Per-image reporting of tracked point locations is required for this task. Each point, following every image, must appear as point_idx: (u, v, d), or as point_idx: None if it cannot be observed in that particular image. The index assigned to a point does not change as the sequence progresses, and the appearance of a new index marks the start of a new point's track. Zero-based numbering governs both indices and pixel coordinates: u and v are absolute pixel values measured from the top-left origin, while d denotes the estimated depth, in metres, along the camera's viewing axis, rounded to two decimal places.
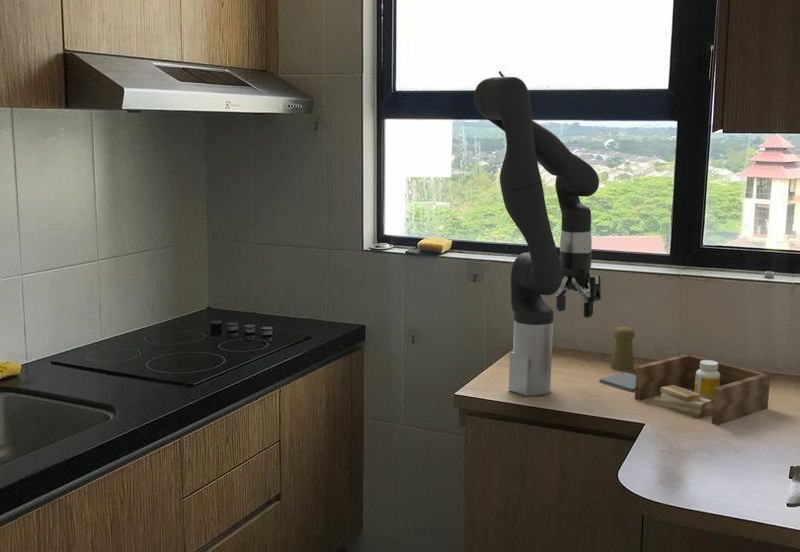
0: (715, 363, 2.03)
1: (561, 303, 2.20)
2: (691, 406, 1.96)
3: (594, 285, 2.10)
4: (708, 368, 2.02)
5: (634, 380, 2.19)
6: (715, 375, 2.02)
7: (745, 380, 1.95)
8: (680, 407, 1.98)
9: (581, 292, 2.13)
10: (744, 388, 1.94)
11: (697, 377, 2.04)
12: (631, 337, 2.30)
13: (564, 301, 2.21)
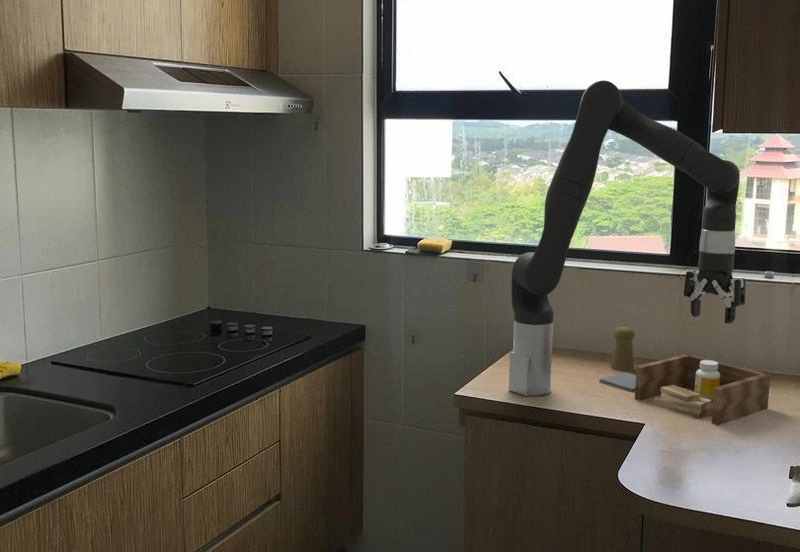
0: (715, 363, 2.03)
1: (696, 308, 2.05)
2: (691, 406, 1.96)
3: (739, 288, 1.95)
4: (708, 368, 2.02)
5: (634, 380, 2.19)
6: (715, 375, 2.02)
7: (745, 380, 1.95)
8: (680, 407, 1.98)
9: (723, 296, 1.97)
10: (744, 388, 1.94)
11: (697, 377, 2.04)
12: (631, 337, 2.30)
13: (699, 306, 2.05)
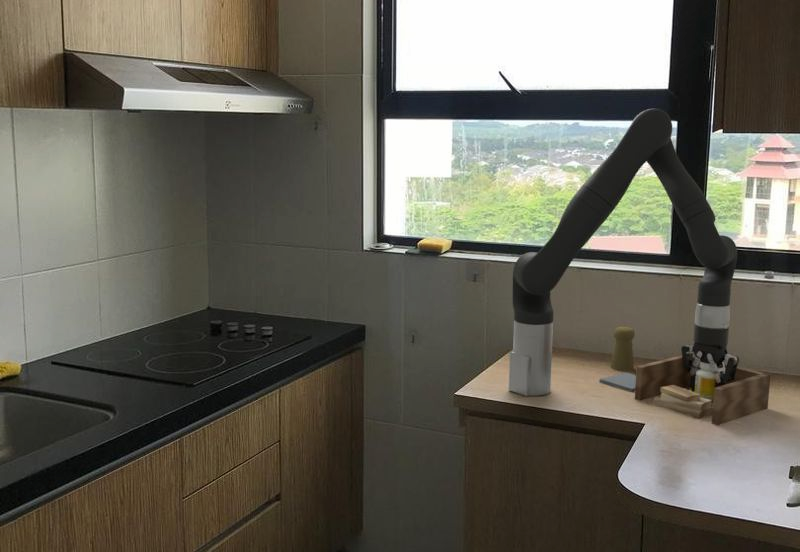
0: None
1: None
2: (691, 406, 1.96)
3: (731, 367, 1.98)
4: (708, 368, 2.02)
5: (634, 380, 2.19)
6: None
7: (745, 380, 1.95)
8: (680, 407, 1.98)
9: (715, 371, 2.01)
10: (744, 388, 1.94)
11: (697, 377, 2.04)
12: (631, 337, 2.30)
13: None
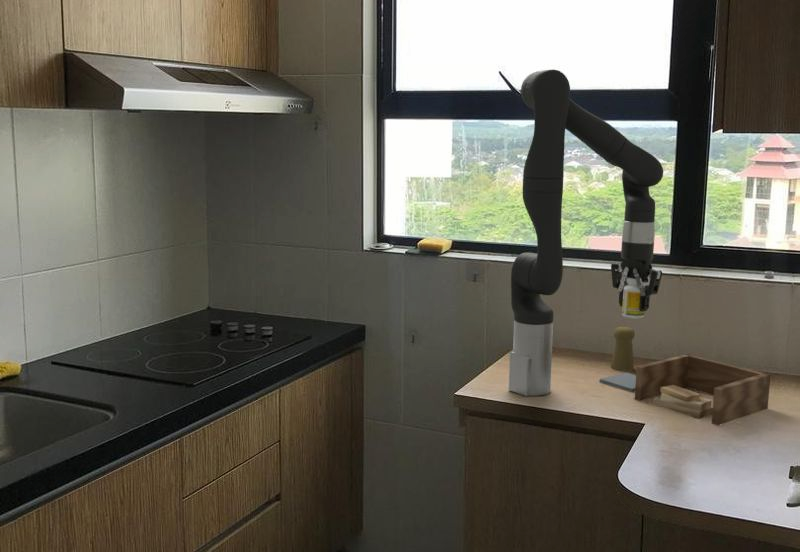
0: None
1: None
2: (691, 406, 1.96)
3: (655, 280, 2.09)
4: (634, 282, 2.13)
5: (634, 380, 2.19)
6: None
7: (745, 380, 1.95)
8: (680, 407, 1.98)
9: (640, 285, 2.11)
10: (744, 388, 1.94)
11: (624, 292, 2.14)
12: (631, 337, 2.30)
13: None
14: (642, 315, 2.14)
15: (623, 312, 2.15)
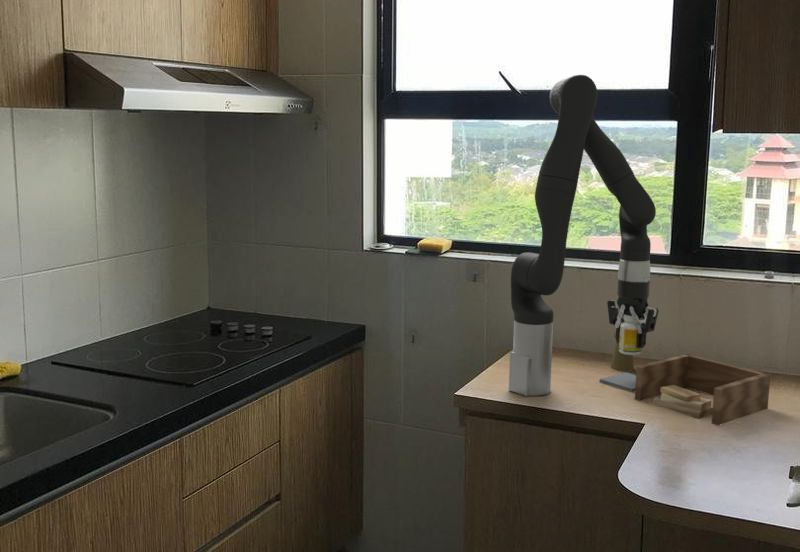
0: None
1: None
2: (691, 406, 1.96)
3: (651, 318, 2.11)
4: (631, 319, 2.15)
5: (634, 380, 2.19)
6: None
7: (745, 380, 1.95)
8: (680, 407, 1.98)
9: (636, 322, 2.14)
10: (744, 388, 1.94)
11: (621, 329, 2.17)
12: None
13: None
14: (639, 351, 2.17)
15: (620, 349, 2.18)
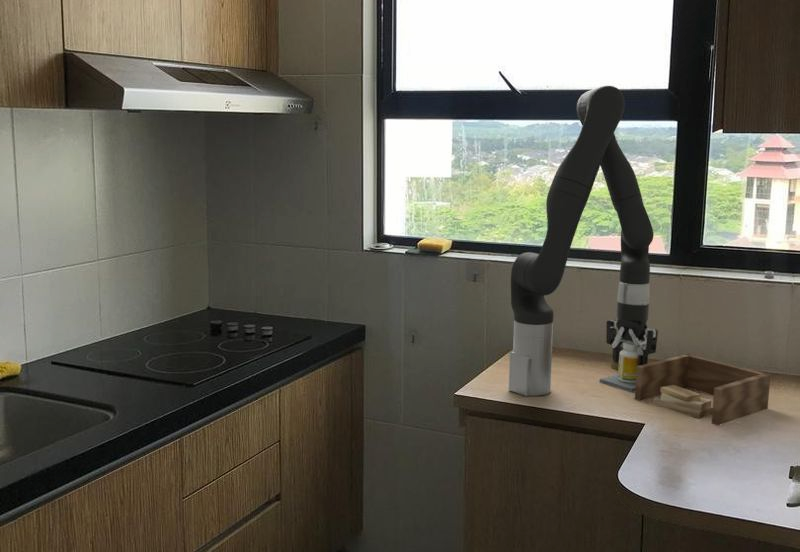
0: None
1: (617, 355, 2.21)
2: (691, 406, 1.96)
3: (651, 339, 2.11)
4: (630, 348, 2.16)
5: None
6: (637, 355, 2.16)
7: (745, 380, 1.95)
8: (680, 407, 1.98)
9: (637, 344, 2.14)
10: (744, 388, 1.94)
11: (620, 357, 2.18)
12: None
13: None
14: None
15: (619, 376, 2.18)
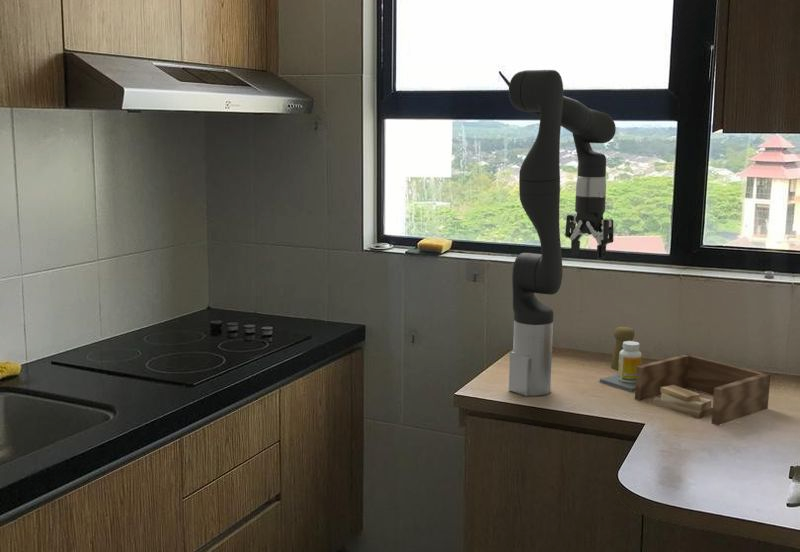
0: (636, 343, 2.17)
1: (575, 247, 2.31)
2: (691, 406, 1.96)
3: (607, 227, 2.21)
4: (630, 348, 2.16)
5: None
6: (636, 355, 2.16)
7: (745, 380, 1.95)
8: (680, 407, 1.98)
9: (595, 235, 2.23)
10: (744, 388, 1.94)
11: (620, 357, 2.18)
12: (631, 337, 2.30)
13: (578, 246, 2.31)
14: None
15: (619, 376, 2.18)
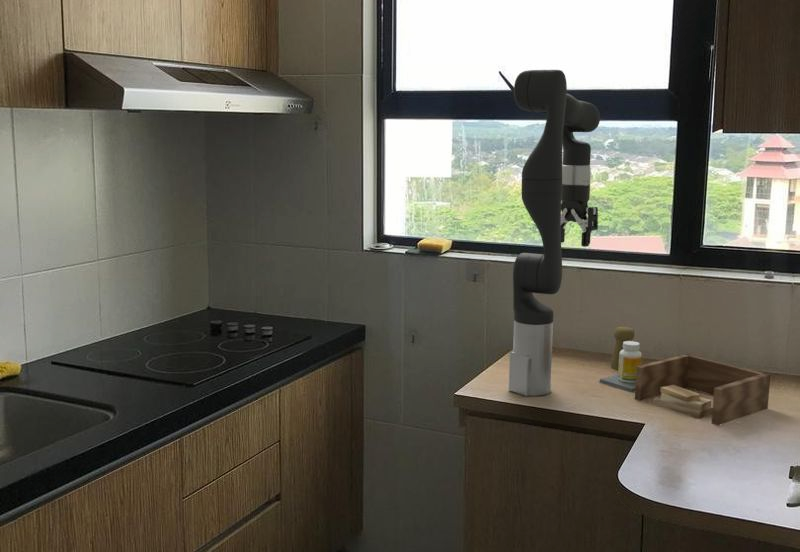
0: (637, 343, 2.17)
1: (560, 235, 2.35)
2: (691, 406, 1.96)
3: (592, 215, 2.25)
4: (630, 348, 2.16)
5: None
6: (637, 355, 2.16)
7: (745, 380, 1.95)
8: (680, 407, 1.98)
9: (579, 222, 2.27)
10: (744, 388, 1.94)
11: (620, 357, 2.18)
12: (631, 337, 2.30)
13: (563, 233, 2.35)
14: None
15: (619, 376, 2.18)
